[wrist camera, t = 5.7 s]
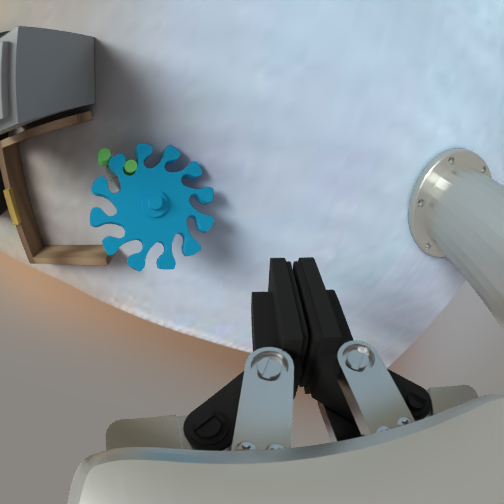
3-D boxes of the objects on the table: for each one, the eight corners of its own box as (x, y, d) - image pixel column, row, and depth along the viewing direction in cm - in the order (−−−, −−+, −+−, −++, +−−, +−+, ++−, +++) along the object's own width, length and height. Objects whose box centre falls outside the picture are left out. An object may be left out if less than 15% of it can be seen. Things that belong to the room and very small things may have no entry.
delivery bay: (91, 110, 18) (74, 115, 16) (116, 251, 26) (106, 267, 24) (10, 136, 18) (-7, 143, 16) (40, 251, 26) (28, 265, 24)
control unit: (94, 34, 14) (12, 21, 6) (95, 103, 18) (11, 125, 9) (18, 67, 14) (-59, 82, 5) (21, 126, 18) (-54, 160, 9)
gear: (241, 210, 23) (153, 301, 18) (213, 221, 28) (141, 293, 24) (157, 108, 19) (53, 185, 15) (143, 138, 24) (63, 203, 20)
